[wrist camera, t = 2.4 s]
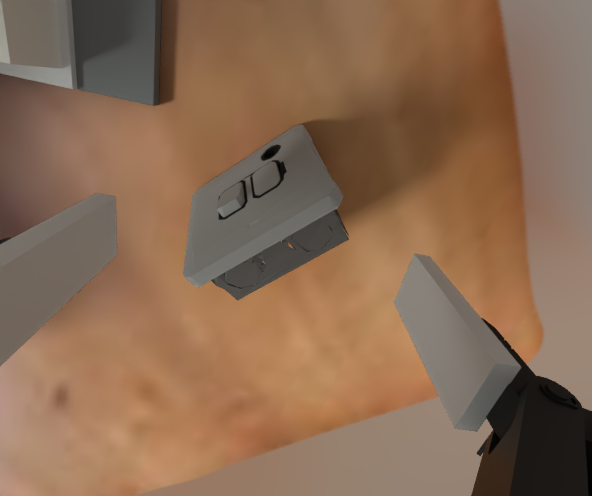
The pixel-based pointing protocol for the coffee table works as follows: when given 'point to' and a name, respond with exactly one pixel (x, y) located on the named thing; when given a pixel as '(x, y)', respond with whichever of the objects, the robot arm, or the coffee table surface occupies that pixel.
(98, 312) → the coffee table surface
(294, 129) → the electrical switch
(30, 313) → the robot arm
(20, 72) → the rail board
